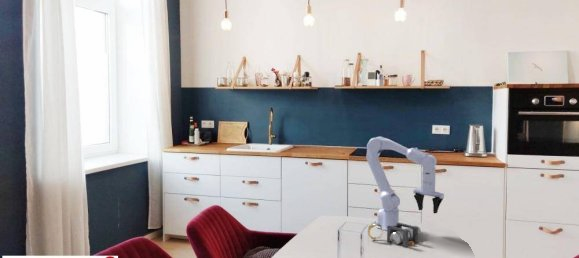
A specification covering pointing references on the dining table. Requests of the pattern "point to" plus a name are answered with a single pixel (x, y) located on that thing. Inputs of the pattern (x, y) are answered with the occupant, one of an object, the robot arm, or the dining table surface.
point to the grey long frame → (398, 236)
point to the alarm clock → (372, 227)
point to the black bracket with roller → (405, 233)
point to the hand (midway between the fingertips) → (427, 211)
